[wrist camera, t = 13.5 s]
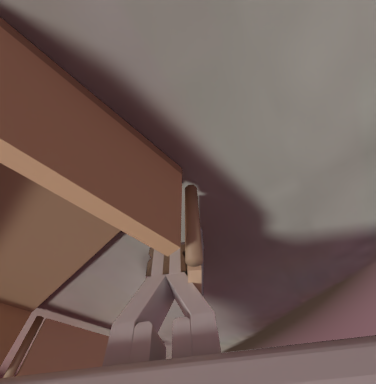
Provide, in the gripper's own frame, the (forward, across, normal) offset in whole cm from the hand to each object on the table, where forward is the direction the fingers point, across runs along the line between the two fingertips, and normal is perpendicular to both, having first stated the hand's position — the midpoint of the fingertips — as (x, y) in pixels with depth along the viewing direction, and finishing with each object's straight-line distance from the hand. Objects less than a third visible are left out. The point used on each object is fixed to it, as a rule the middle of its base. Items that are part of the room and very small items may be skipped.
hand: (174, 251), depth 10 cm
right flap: (+2, -1, -2) cm, 4 cm away
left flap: (+3, +14, +9) cm, 17 cm away
